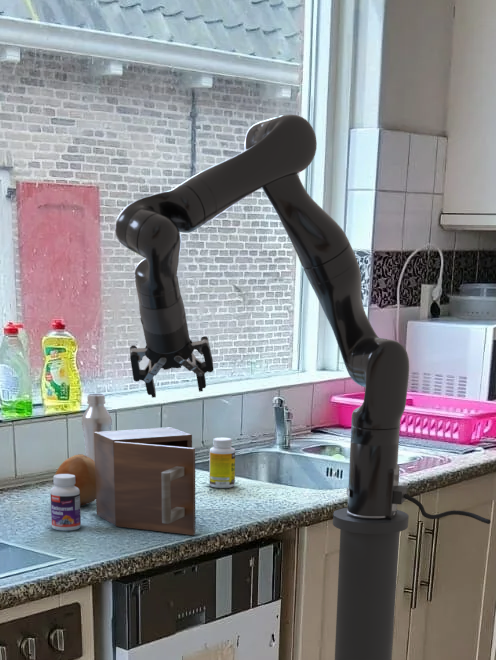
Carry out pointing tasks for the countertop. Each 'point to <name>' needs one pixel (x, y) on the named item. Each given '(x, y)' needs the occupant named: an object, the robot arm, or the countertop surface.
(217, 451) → the supplement bottle
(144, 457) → the door
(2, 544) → the countertop surface
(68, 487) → the pill bottle
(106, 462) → the cabinet
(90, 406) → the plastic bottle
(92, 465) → the onion
